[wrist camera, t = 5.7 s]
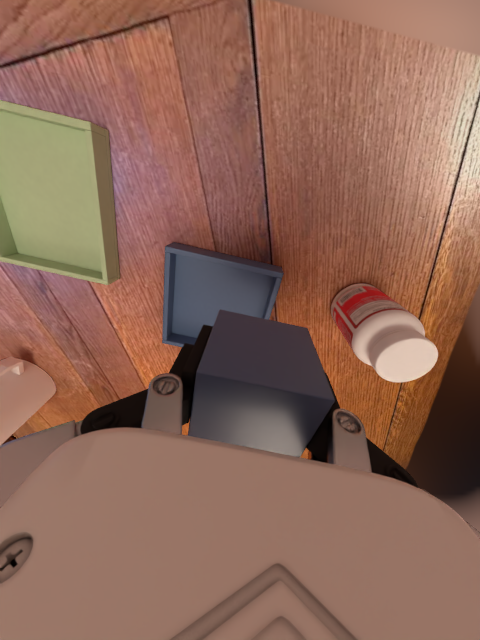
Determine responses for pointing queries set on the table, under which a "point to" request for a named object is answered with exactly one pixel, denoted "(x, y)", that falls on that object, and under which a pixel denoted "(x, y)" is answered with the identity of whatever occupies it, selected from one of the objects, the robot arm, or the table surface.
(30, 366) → the mug
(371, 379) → the table surface
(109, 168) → the tray
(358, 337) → the pill bottle
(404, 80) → the table surface
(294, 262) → the table surface
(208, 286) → the block tray
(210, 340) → the block
